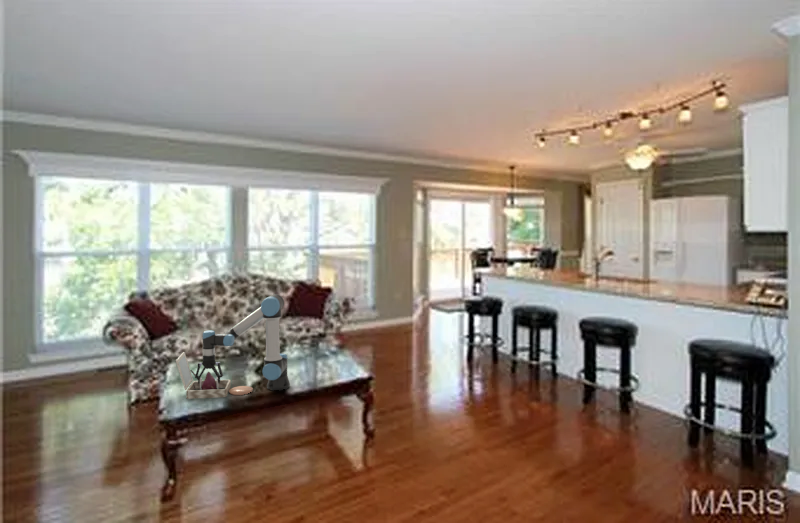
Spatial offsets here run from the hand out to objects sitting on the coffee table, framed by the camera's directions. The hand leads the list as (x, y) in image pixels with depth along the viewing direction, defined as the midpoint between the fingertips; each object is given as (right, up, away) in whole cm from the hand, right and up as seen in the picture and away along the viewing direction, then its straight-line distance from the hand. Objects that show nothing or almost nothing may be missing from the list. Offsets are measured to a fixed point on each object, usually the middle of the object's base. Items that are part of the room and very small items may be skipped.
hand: (209, 387), depth 327 cm
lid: (-14, +12, -4) cm, 19 cm away
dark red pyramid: (0, -3, 0) cm, 3 cm away
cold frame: (0, -3, 0) cm, 3 cm away
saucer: (+20, -3, +4) cm, 20 cm away
